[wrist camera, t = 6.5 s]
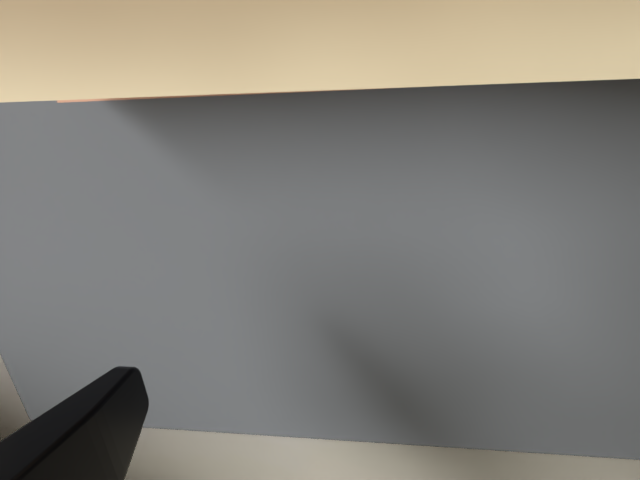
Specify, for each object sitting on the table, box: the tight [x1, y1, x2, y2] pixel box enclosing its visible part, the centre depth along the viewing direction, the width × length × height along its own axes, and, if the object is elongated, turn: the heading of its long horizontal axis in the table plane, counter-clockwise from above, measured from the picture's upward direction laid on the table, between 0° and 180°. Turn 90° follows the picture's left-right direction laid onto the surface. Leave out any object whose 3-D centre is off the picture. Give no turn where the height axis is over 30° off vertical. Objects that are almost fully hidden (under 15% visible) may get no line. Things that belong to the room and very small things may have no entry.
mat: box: [0, 79, 640, 460], centre depth 11 cm, size 24×24×1 cm
